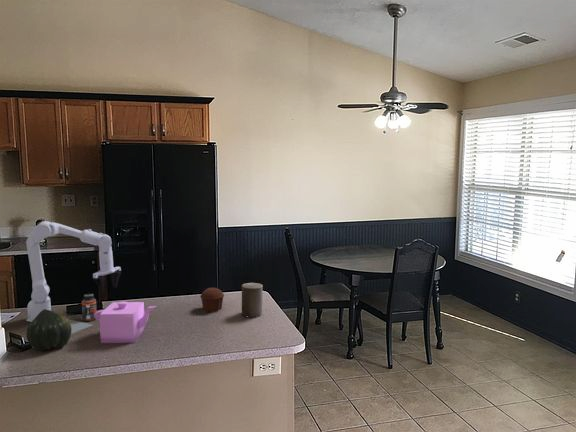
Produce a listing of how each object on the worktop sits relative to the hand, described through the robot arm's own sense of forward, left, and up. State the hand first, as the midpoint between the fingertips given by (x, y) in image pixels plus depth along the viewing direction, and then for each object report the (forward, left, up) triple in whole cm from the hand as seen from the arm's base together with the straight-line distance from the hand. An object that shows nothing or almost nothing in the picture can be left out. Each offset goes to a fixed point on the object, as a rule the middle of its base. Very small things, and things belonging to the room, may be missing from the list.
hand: (108, 289), depth 210 cm
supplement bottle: (-1, -11, -11) cm, 16 cm away
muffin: (+40, +25, -11) cm, 49 cm away
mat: (-1, -23, -11) cm, 26 cm away
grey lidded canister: (+61, +27, -11) cm, 68 cm away
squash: (+10, -39, -11) cm, 41 cm away
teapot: (+28, -18, -11) cm, 35 cm away
